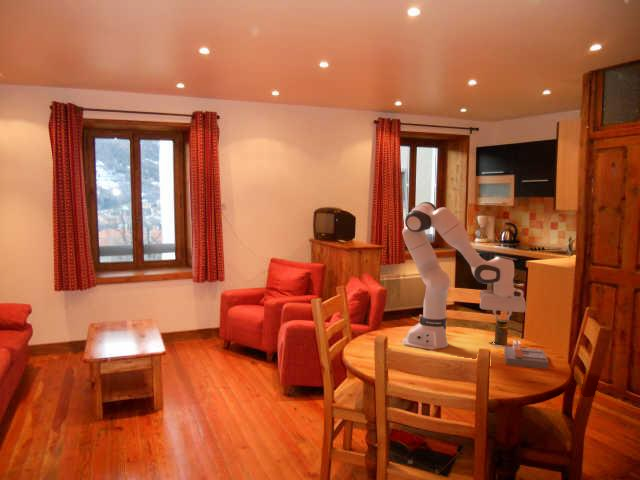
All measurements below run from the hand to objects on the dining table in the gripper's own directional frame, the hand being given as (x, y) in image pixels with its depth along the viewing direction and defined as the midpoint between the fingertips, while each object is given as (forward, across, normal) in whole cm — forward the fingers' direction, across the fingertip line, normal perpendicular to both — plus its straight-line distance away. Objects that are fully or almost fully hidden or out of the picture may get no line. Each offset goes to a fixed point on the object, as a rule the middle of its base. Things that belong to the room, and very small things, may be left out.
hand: (501, 319), depth 231 cm
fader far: (+14, +7, 0) cm, 15 cm away
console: (+17, +10, -4) cm, 20 cm away
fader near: (+14, +7, -9) cm, 18 cm away
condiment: (+17, 0, +19) cm, 26 cm away
